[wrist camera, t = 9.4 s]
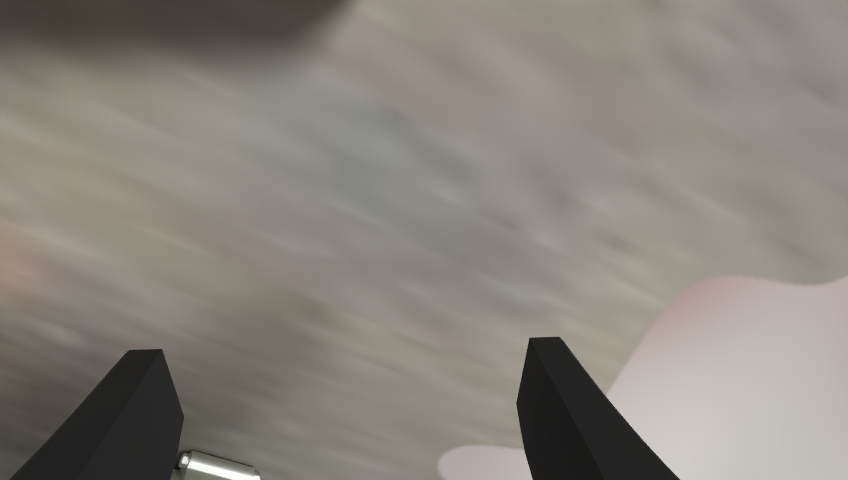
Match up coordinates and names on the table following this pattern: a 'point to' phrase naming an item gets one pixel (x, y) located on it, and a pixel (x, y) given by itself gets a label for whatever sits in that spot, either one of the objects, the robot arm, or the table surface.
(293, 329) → the table surface
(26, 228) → the table surface
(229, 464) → the pneumatic valve
